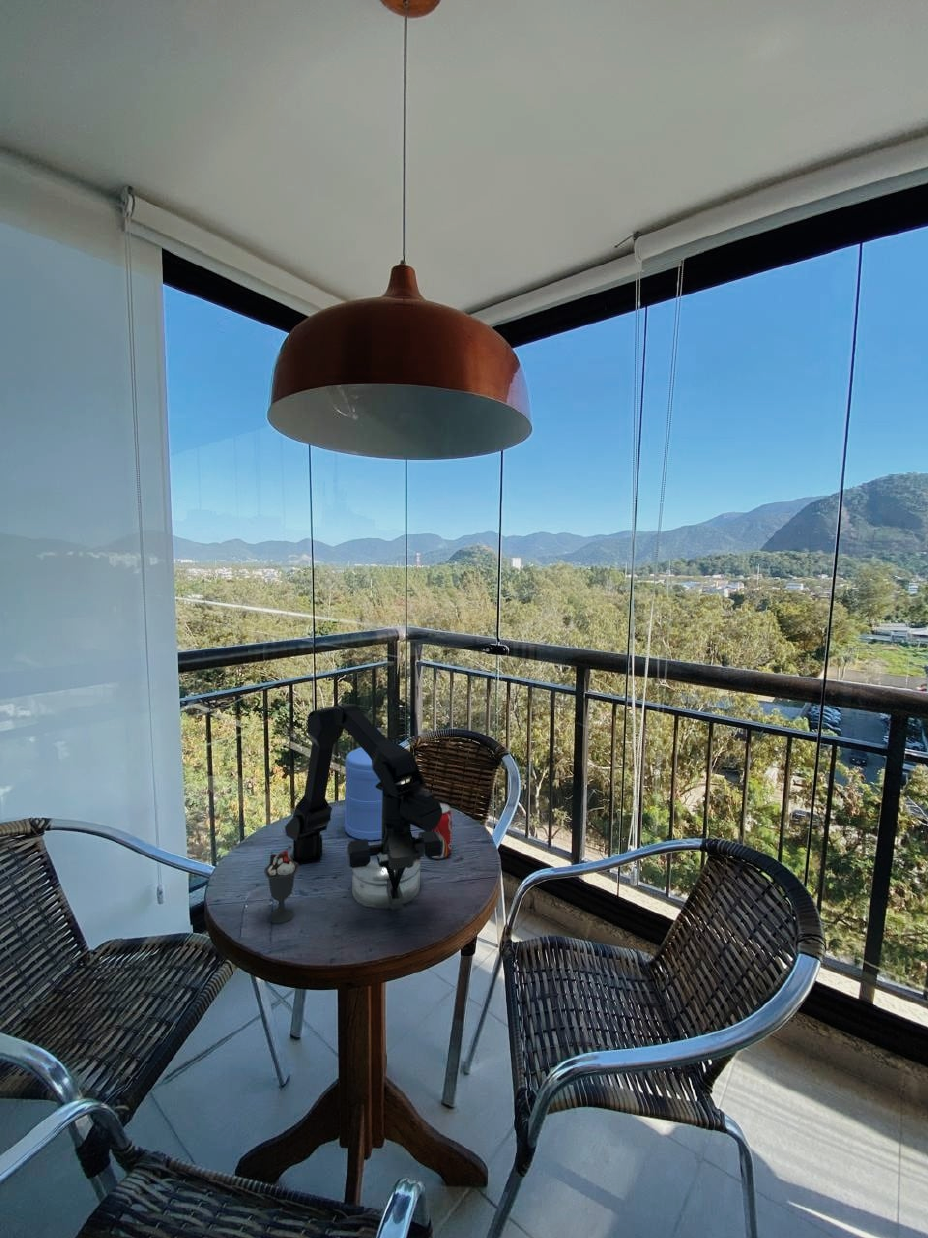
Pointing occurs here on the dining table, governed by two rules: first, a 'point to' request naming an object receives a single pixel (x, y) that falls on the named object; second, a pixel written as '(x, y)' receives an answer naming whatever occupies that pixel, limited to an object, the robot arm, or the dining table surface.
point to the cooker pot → (384, 893)
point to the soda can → (445, 830)
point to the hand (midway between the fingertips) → (394, 888)
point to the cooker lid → (384, 877)
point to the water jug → (362, 797)
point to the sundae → (281, 884)
